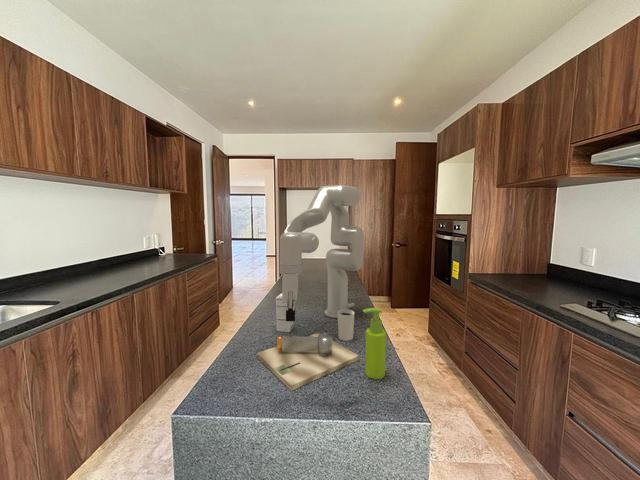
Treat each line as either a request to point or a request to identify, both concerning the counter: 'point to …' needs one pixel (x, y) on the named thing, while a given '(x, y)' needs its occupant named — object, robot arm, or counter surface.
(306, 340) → the lever
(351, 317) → the white cup
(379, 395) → the counter surface
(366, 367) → the soap dispenser
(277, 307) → the syrup box
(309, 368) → the dial board
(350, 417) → the counter surface
